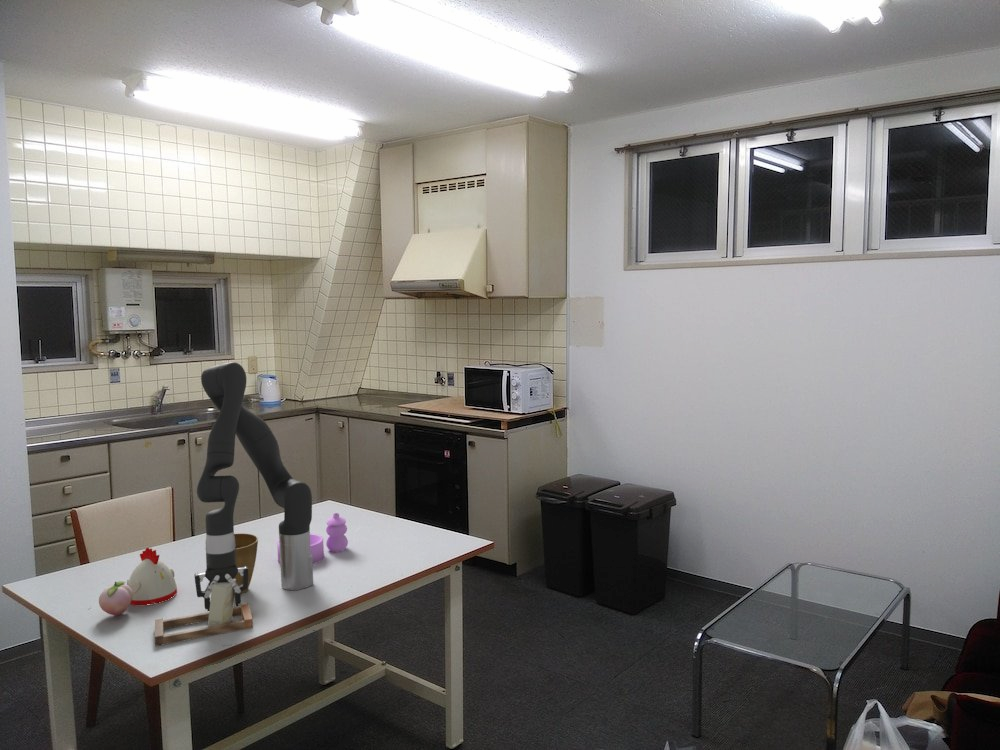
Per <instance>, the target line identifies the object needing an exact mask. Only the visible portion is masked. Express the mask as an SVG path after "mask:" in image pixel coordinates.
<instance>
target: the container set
mask: <svg viewBox="0 0 1000 750" xmlns="http://www.w3.org/2000/svg"><path fill="white" fill-rule="evenodd" d="M346 523H347V519H346V518H344V517H342V516H340V513H338V512H334V513H332V517H329V518H328V519H327V521H326V525H327V527H326V529H325V532H326V534H327V535H328V536H329V537H327V539H326V542H325V544H326V545H325V546H326V548H327V549H328V550H329V551H330V552H332V553H339V552H340V553H341V552H343V551H345V550H346V548H347V547H348V544H349V540H348V538H347V536H346V535H345V534H346V533H347V531H348V526H347V524H346ZM276 544H277V546H276V547H277V562H278V564H280V545H279V540H277V543H276ZM310 549H311V555H312V564H313V565H314V564H316V563H319V562H320V561H322V560H324V558H325V553H324V552H325V550H324V537H323V536H322V535H320V534H314V533H310Z"/></svg>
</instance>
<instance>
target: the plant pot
mask: <svg viewBox="0 0 1000 750" xmlns="http://www.w3.org/2000/svg"><path fill="white" fill-rule="evenodd" d="M234 536H235V544H236V547H235V551H236V566H237V568H243V567H244V566H247V567H248V588H247V590H243V591H242V592H241V595H243V594H245V593H247V592H248V590H249V588H250V584H251V582H252V578H253V574H254V570H255V565H256V559H257V554H258V543H259V538H258V536H257V535H255V534H253V533H245V532H244V533H243V532H241V533H240V532H239V533H238V532H237V533H234ZM234 579H236V582H237V584H238V585H239V586H240V585H242V579H243V576H241V575H240V573H239V572H238V573H237V574H236V576H235V577H234ZM234 597H235V595H234Z"/></svg>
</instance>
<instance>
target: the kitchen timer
mask: <svg viewBox="0 0 1000 750" xmlns="http://www.w3.org/2000/svg"><path fill="white" fill-rule="evenodd" d="M139 556H140V560H141V561H140V562H139V563H138V564H137V565H136V566H135V568H134V569H133V570H132V571H131V574H130V576H129V579H126V585H128V586H129V587H130V588H131V589H132V591H133V597H132V600H131V603H130V604H132V606H135V605H145V606H148V605H147V604H153V605H155V604H154V603H158V604H160V603H159V602H161V603H163V602H162V601H164V602H166V601H165V600H167V601H169V600H171V599H172V598H171V597H173V596H174V595H175V594H176V593H177V592H178V586H177V583H176V579H175V571H174V569H173V568H169V567H168V566H167V564H166V563H165V562H163V561H162V560H160V554H157V550H156V549H154V550H153V548H152V547H151V548H149V547H146V548H145V549H144V550H142V552H141V553H139ZM176 595H177V594H176ZM176 595H175V596H176ZM175 596H174V597H175ZM174 597H173V598H174ZM170 598H171V599H170ZM168 599H169V600H168Z"/></svg>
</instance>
